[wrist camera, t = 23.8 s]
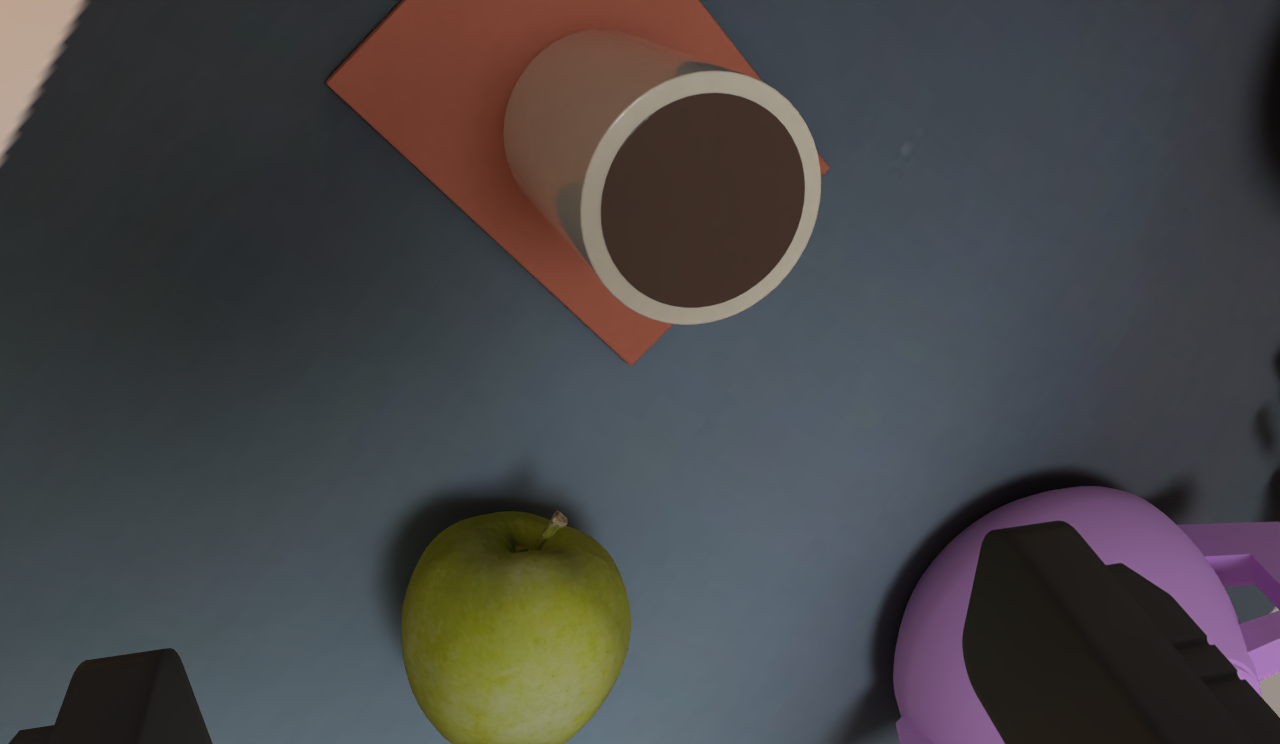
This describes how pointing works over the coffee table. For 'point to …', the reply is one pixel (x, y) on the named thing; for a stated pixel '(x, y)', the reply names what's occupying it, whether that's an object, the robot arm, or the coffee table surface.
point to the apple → (513, 629)
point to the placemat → (475, 110)
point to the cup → (664, 172)
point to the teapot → (1118, 533)
